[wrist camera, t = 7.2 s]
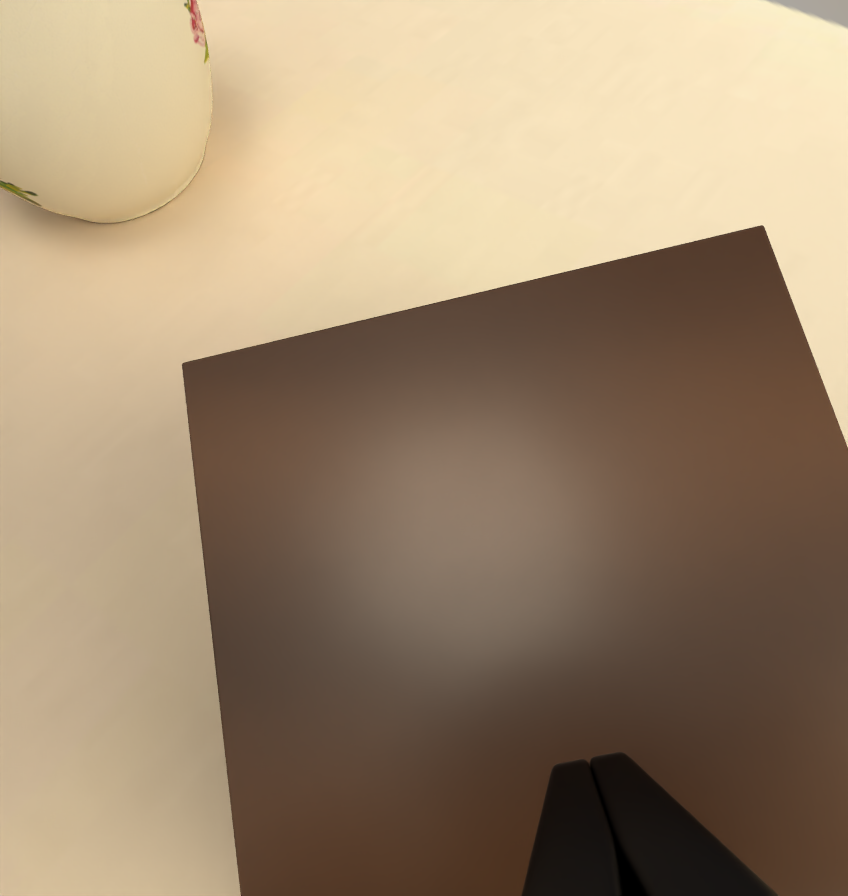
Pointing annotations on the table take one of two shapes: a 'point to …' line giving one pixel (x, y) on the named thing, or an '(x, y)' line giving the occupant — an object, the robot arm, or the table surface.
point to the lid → (529, 574)
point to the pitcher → (102, 104)
